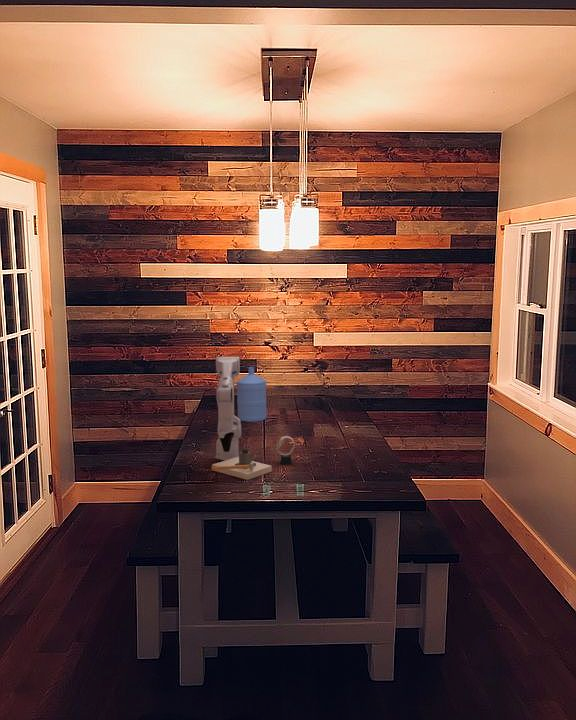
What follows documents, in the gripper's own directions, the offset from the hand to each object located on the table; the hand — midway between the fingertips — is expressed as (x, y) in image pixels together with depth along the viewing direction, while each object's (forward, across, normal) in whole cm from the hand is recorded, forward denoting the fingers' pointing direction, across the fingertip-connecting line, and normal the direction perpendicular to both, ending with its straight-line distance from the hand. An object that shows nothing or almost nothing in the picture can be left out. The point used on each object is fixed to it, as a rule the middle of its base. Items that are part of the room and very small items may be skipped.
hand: (226, 451), depth 272 cm
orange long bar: (+7, -3, -3) cm, 8 cm away
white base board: (+10, +6, -4) cm, 12 cm away
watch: (+10, +20, -20) cm, 30 cm away
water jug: (+10, +97, +13) cm, 98 cm away
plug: (+10, +5, -6) cm, 13 cm away
